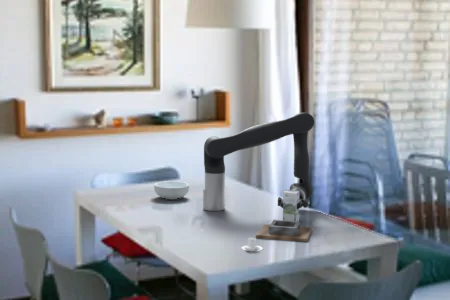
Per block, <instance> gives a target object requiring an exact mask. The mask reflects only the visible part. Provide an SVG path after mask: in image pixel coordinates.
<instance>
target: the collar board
mask: <svg viewBox="0 0 450 300" xmlns="http://www.w3.org/2000/svg"><path fill="white" fill-rule="evenodd" d="M312 232H313V227H307V226H302V225H301V221H299V222H298V221H284V220H283V219H282V220H281V219H273V220H272V221H271V223H270V224H267V223H266V224H265V223H264V224H263V225H262V226H261V227H260V229H259V230H258V232H257V233H256V234H255V238H256V239H264V240H275V241H276V240H280V241H290V242H302V241H307V240H309V238H310V236H311V235H312ZM307 242H308V241H307Z"/></svg>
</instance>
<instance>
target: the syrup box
mask: <svg viewBox="0 0 450 300" xmlns="http://www.w3.org/2000/svg"><path fill="white" fill-rule="evenodd" d="M298 202H299V191H296V190H290V189H285V190H283V208H282V220H284V221H298V222H300V218H299V216H300V215H299V214H300V213H299V211H300V208H299V209H297V204H298Z"/></svg>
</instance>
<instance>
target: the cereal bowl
mask: <svg viewBox="0 0 450 300" xmlns="http://www.w3.org/2000/svg"><path fill="white" fill-rule="evenodd" d="M153 186H154V187H153V188H154V192H155V194H156V195H157V196H158V197H160V198H162V199H164V198H166V199H165V200H167V199H177V198H179V199H181V198H184V196H186V195H187V194H188V193H189V189H190V184H189V183H187V182H184V181H178V180H165V181H159V182H156V183H154V184H153ZM177 200H178V199H177Z"/></svg>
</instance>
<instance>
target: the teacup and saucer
mask: <svg viewBox="0 0 450 300" xmlns="http://www.w3.org/2000/svg"><path fill="white" fill-rule="evenodd" d="M256 247H257V248H258V249H257V250H256ZM241 249H242V250H243V251H246V252H260V251H262V250H263V249H264V248H263V247H262V246H260V245H257V238H256V237H248V238H247V245H243V246H241Z"/></svg>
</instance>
